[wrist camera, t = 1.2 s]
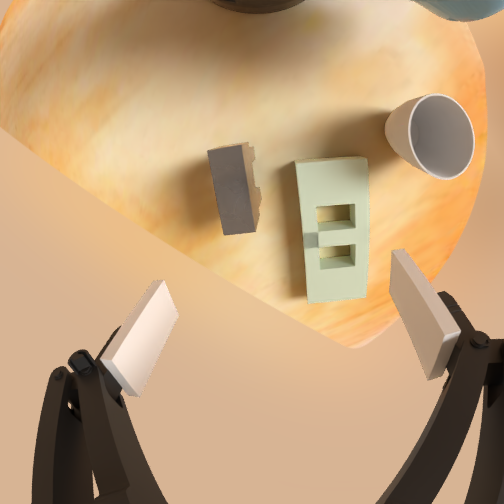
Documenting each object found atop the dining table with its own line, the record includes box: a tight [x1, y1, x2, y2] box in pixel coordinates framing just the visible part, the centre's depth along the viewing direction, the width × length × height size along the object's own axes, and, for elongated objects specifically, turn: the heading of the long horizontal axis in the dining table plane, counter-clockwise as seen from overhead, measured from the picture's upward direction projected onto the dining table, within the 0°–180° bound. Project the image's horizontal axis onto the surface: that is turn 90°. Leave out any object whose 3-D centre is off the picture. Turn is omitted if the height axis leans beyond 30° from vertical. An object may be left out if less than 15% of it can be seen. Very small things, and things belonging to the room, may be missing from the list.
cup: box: [385, 93, 475, 180], centre depth 22 cm, size 8×8×10 cm
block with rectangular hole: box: [295, 156, 370, 304], centre depth 32 cm, size 18×8×3 cm, turn 9°
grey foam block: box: [207, 142, 261, 235], centre depth 27 cm, size 8×3×9 cm, turn 9°
